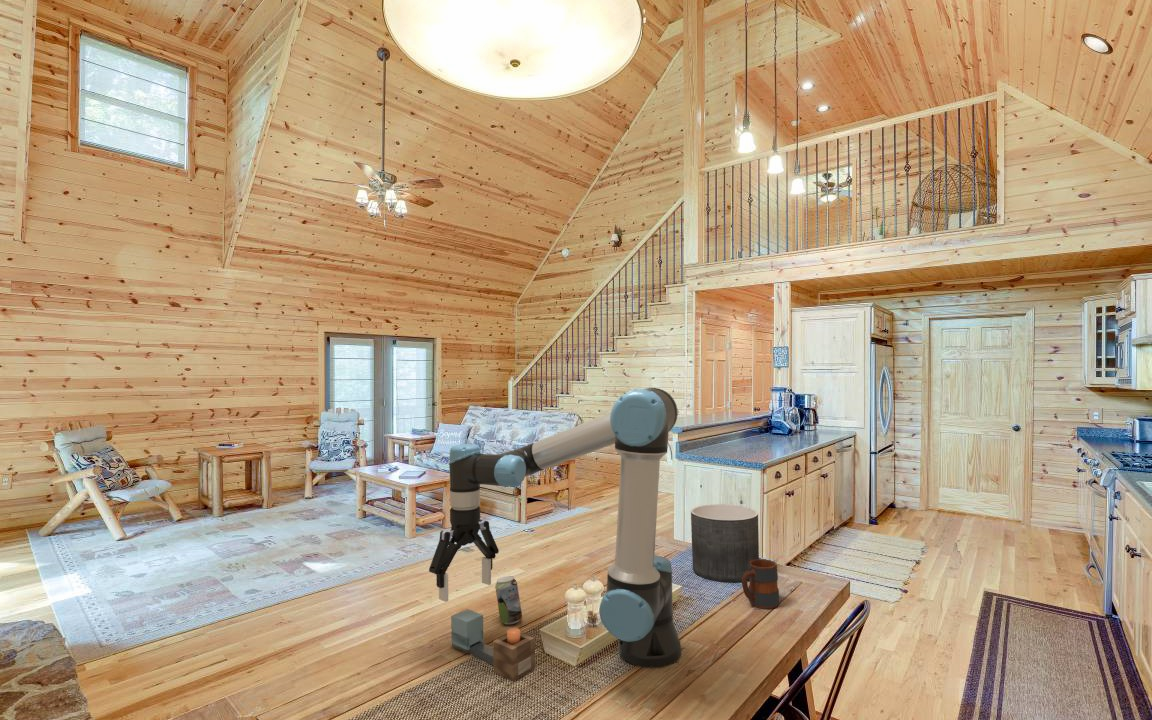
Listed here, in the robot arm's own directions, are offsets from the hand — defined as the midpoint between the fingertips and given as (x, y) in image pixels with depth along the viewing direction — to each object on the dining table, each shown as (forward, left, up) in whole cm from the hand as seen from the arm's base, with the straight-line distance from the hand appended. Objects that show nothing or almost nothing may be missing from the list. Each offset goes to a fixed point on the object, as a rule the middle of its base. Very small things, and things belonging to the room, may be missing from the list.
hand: (465, 591), depth 144 cm
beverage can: (+3, -17, -14) cm, 23 cm away
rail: (-5, 0, -14) cm, 15 cm away
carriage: (0, 0, -13) cm, 13 cm away
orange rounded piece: (-17, 0, -9) cm, 19 cm away
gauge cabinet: (-17, 0, -14) cm, 22 cm away
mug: (-47, -69, -14) cm, 85 cm away
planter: (-27, -89, -15) cm, 94 cm away
